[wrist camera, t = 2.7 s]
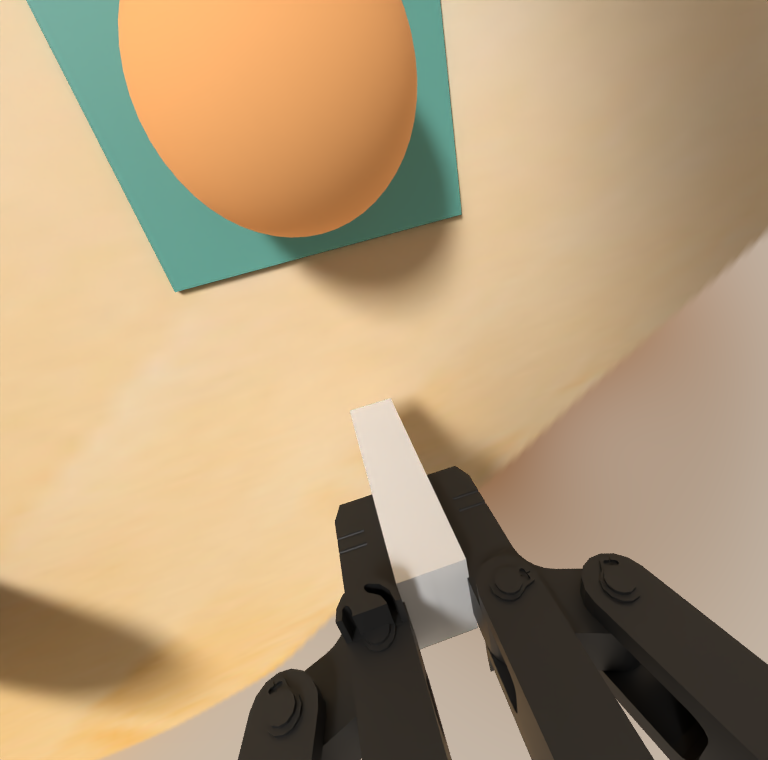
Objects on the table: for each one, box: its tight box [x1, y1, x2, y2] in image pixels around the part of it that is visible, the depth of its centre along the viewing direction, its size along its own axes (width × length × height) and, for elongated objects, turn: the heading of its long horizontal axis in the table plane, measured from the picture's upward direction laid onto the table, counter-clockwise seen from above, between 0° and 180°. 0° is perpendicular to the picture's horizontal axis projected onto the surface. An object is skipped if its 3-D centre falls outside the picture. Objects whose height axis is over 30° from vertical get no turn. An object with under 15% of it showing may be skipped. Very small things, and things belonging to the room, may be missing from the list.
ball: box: [118, 0, 417, 238], centre depth 9 cm, size 6×6×6 cm
